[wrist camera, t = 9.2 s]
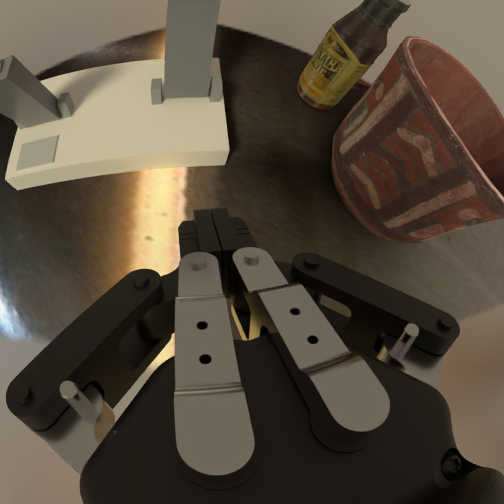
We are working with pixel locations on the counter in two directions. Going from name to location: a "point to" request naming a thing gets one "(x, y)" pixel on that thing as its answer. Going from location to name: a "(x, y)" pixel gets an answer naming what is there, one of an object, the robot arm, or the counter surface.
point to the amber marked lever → (189, 47)
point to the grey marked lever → (25, 95)
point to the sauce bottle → (348, 52)
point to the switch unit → (120, 126)
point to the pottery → (421, 149)
